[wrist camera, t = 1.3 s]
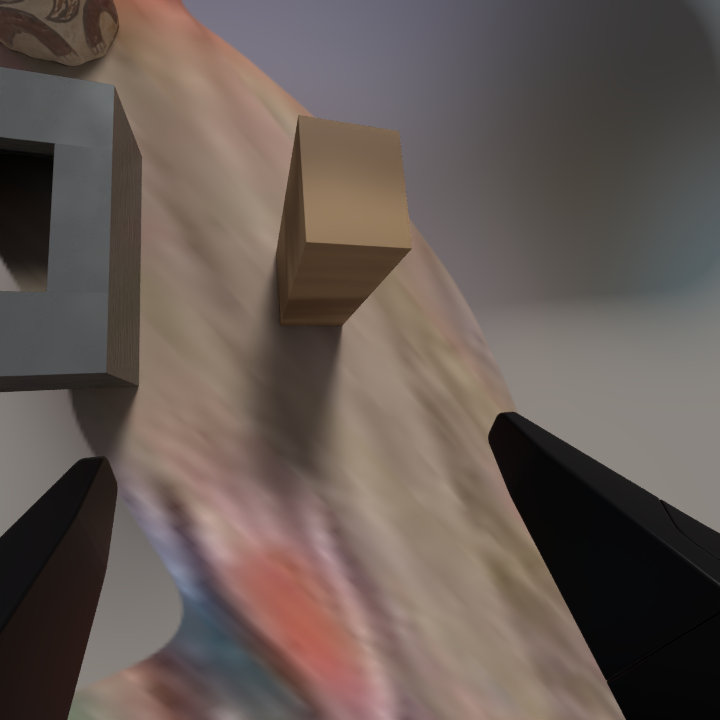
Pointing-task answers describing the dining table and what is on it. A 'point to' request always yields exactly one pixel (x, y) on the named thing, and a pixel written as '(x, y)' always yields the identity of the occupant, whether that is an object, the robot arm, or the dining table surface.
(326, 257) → the tan squared block
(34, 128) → the grey hollow block
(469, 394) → the dining table surface
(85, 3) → the figurine
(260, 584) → the dining table surface
